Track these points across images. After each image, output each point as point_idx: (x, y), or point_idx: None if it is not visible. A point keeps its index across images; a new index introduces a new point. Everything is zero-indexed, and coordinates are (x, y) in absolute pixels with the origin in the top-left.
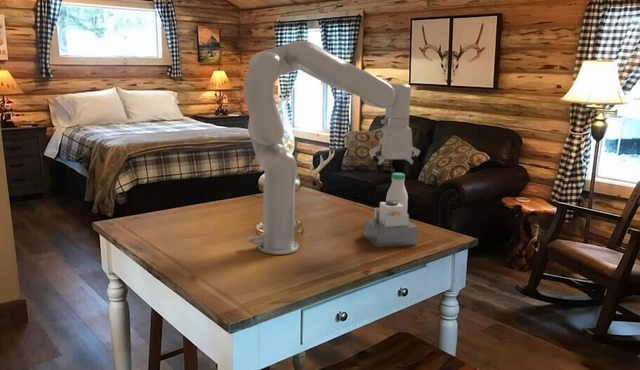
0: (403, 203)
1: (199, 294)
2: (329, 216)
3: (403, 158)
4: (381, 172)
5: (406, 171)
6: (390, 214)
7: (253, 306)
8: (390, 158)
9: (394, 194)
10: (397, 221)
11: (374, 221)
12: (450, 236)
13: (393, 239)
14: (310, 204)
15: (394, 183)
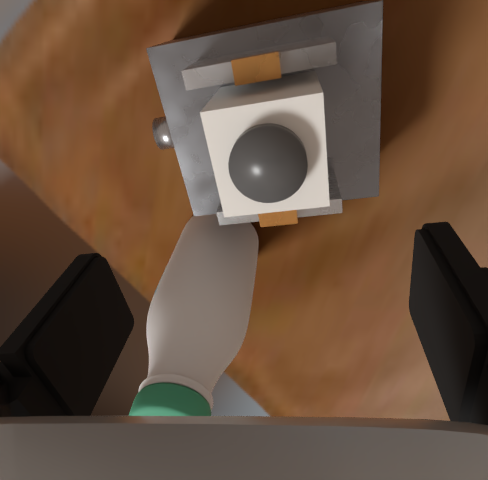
0: (177, 272)
1: None
2: (407, 355)
3: (42, 420)
4: (451, 251)
5: (100, 312)
6: (291, 86)
7: None
8: (395, 428)
9: (214, 310)
10: (255, 52)
11: (346, 153)
12: (32, 144)
13: (282, 18)
14: None
15: (203, 369)
